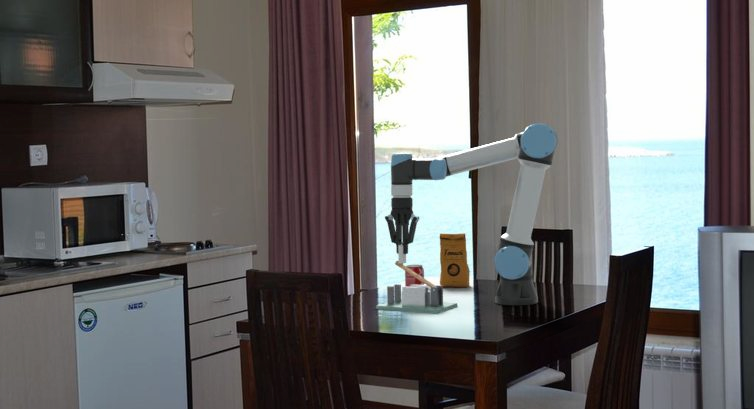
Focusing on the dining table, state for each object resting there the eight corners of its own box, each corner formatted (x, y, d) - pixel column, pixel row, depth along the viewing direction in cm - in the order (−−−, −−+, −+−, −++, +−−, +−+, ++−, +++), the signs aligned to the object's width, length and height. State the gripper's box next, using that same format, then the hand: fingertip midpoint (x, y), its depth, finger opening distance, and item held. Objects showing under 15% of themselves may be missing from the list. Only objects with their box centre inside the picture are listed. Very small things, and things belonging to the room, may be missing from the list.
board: (457, 306, 329) (457, 303, 329) (437, 313, 315) (437, 309, 315) (397, 302, 341) (397, 299, 341) (376, 309, 327) (376, 305, 327)
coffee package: (468, 288, 375) (467, 234, 374) (437, 288, 378) (436, 234, 377) (471, 285, 385) (470, 232, 384) (441, 284, 388) (440, 232, 387)
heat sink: (436, 303, 329) (436, 285, 329) (424, 307, 322) (424, 288, 321) (413, 302, 334) (413, 284, 334) (402, 305, 326) (401, 287, 326)
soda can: (423, 301, 342) (422, 266, 342) (404, 301, 344) (403, 266, 343) (426, 298, 349) (425, 264, 349) (407, 298, 351) (406, 264, 350)
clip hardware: (444, 308, 326) (443, 285, 326) (436, 310, 321) (435, 287, 320) (396, 304, 336) (396, 282, 336) (387, 307, 330) (387, 285, 330)
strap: (435, 288, 325) (437, 285, 325) (433, 289, 323) (434, 286, 323) (397, 263, 332) (398, 260, 332) (394, 264, 331) (396, 261, 330)
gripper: (423, 196, 329) (423, 262, 330) (390, 196, 335) (391, 261, 337) (413, 197, 322) (413, 265, 324) (380, 196, 329) (381, 263, 330)
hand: (402, 263), depth 330 cm, fingers closed
